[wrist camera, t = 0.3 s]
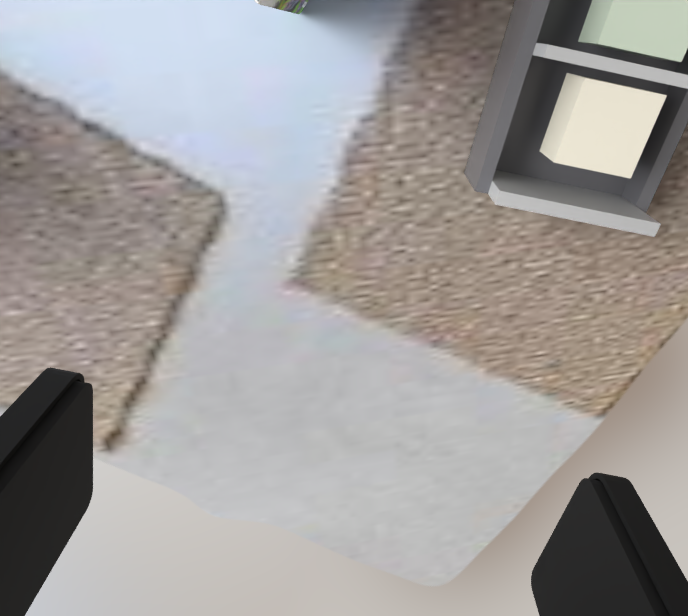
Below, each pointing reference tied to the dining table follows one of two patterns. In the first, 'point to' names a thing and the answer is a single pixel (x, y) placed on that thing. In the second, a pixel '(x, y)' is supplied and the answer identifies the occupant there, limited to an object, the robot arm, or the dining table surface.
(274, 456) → the dining table surface
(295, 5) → the syrup box
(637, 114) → the cream block
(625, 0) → the key sage
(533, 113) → the slotted cube rack
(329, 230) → the dining table surface
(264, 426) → the dining table surface
